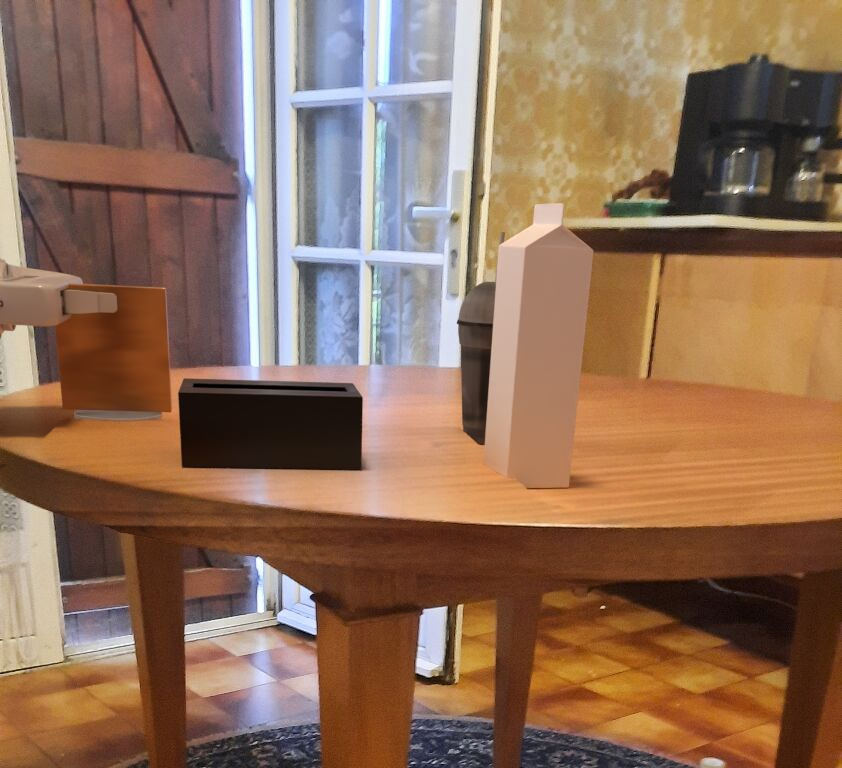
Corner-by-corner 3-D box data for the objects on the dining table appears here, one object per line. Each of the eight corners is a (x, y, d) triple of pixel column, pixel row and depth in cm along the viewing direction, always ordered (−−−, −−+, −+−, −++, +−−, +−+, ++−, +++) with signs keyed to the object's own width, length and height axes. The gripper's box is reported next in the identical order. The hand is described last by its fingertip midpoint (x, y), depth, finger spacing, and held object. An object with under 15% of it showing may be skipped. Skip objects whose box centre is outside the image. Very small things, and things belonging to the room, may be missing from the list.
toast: (62, 409, 110) (50, 283, 105) (64, 407, 112) (53, 282, 107) (171, 412, 112) (165, 288, 107) (172, 410, 114) (166, 287, 108)
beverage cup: (440, 442, 111) (451, 229, 103) (463, 432, 118) (476, 230, 109) (506, 449, 109) (523, 232, 100) (527, 439, 115) (544, 234, 107)
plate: (78, 431, 107) (77, 419, 107) (71, 417, 115) (70, 406, 114) (169, 430, 110) (168, 418, 110) (156, 416, 118) (155, 405, 117)
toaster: (182, 479, 89) (177, 391, 86) (187, 458, 97) (183, 378, 94) (361, 481, 92) (362, 396, 88) (351, 461, 100) (352, 383, 96)
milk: (505, 489, 92) (527, 201, 82) (481, 475, 97) (499, 202, 87) (570, 488, 93) (599, 205, 84) (543, 473, 98) (567, 205, 89)
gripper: (-56, 263, 95) (104, 271, 97) (-8, 258, 113) (126, 264, 115) (-46, 339, 98) (110, 345, 100) (-1, 322, 116) (130, 327, 118)
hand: (119, 301), depth 108 cm, fingers closed on toast, 1 cm apart
